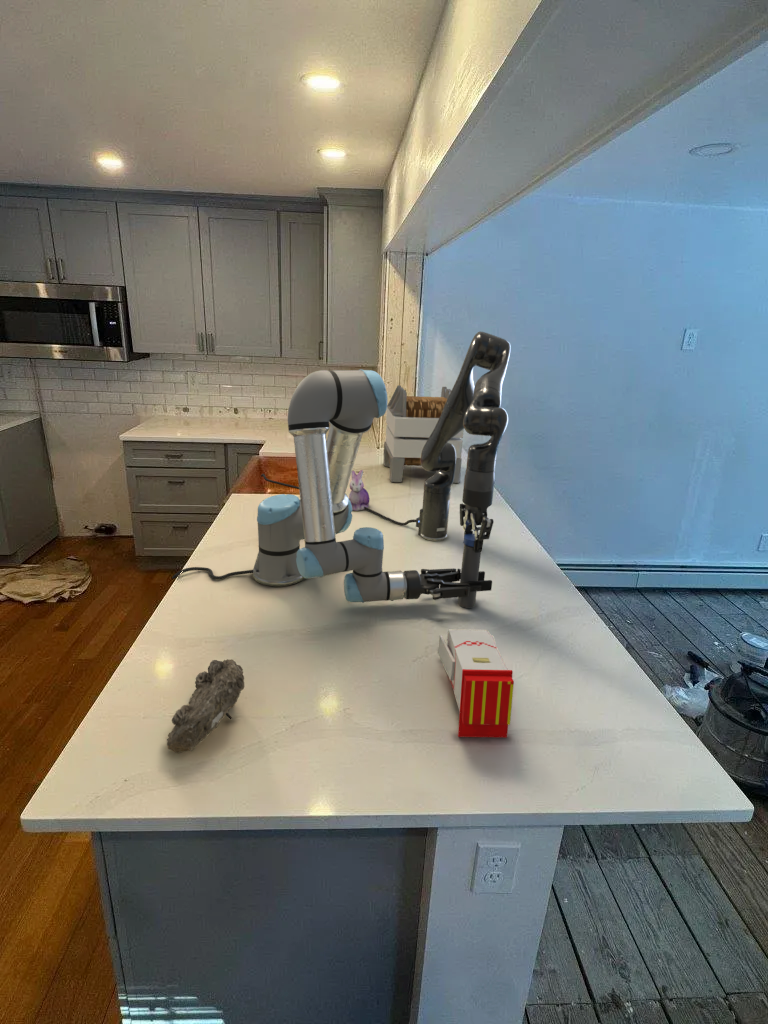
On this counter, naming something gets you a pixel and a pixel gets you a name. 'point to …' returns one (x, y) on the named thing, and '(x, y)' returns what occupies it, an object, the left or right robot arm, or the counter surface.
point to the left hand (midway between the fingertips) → (487, 580)
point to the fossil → (206, 705)
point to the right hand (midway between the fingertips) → (472, 547)
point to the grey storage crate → (414, 431)
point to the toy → (478, 682)
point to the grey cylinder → (469, 574)
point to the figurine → (358, 492)
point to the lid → (469, 539)
